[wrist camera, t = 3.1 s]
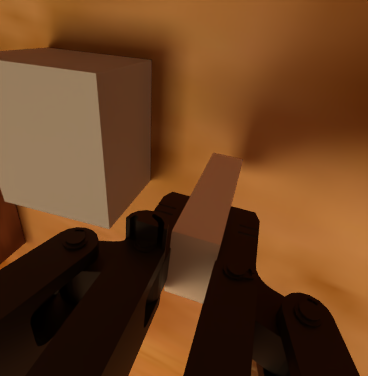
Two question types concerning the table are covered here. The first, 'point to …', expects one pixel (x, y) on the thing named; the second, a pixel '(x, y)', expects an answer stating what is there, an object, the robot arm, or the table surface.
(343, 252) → the table surface
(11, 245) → the brown wooden bar
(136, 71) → the block
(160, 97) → the table surface
